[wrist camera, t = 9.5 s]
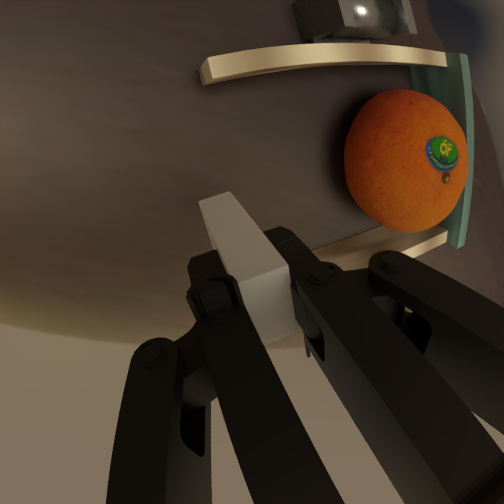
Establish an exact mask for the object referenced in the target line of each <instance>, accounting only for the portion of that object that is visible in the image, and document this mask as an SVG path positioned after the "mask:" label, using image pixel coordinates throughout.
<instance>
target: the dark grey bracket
mask: <svg viewBox="0 0 504 504" xmlns="http://www.w3.org/2000/svg"><path fill="white" fill-rule="evenodd" d="M292 5H293V9H294V13H295V17H296V20H297V24H298V28H299V32H300V36H301V41H302V42H305V41H308V43H309V44H318V43H363V44H370V41H373V40H378V39H387V38H391V37H398V36H406V35H414V34H417V30H416V25H415V21H414V17H413V13H412V10H411V6H410V2H409V0H297V1H296V2H294V3H293V4H292Z"/></svg>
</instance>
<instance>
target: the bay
mask: <svg viewBox="0 0 504 504" xmlns="http://www.w3.org/2000/svg"><path fill="white" fill-rule="evenodd" d="M345 65H396V66H409V68H410V75H411V82H412V89H413V90H414V91H417V92H420V93H423V94H426V95H428V96H430V97H432V98H434V99H435V100H437V101H439V102H440V103H441V104H443V105H444V106H445V107H446V108H447V109H448V111H449V112H450V113H451V114H452V115H453V117H454V118H455V120H456V121H457V123H458V124H459V125H460V127H461V129H462V131H463V133H464V135H465V139H466V144H467V149H468V164H469V167H468V176H467V181H466V184H465V186H464V188H463V191H462V193H461V196H460V197H459V200H458V202H457V204H456V206H455V207H454V209H453V210H452V212H451V213H450V214H449V215H448V216H447V217H446V218H445V219H443V220H442V221H441V222H439V223H438V224H437V225H435V226H433V227H431V228H429V229H426V230H423V231H420V232H412V233H404V232H397V231H393V230H390V229H388V228H386V227H384V226H379V227H376V228H374V229H371V230H368V231H366V232H363V233H360V234H357V235H355V236H352V237H349V238H346V239H344V240H341V241H338V242H335V243H332V244H330V245H327V246H324V247H321V248H318V249H316V250H313V251H312V252H313V253H314V254H315V255H316V257H317V258H318V259H319V260H320V261H327V262H331V263H334V264H336V265H337V266H339V267H340V268H341V269H342V270H343V271H347V270H356V269H362V268H368V264H369V259H370V258H371V256H372V255H373V254H375V253H377V252H379V251H384V250H394V251H398V252H401V253H404V254H406V255H408V256H410V257H412V258H414V257H416V256H419V255H421V254H423V253H425V252H427V251H429V250H431V249H433V248H435V247H437V246H439V245H441V244H443V243H445V242H447V243H449V244H451V245H452V246H454V247H455V248H457V249H458V248H460V247H461V246H463V245H464V243H465V238H466V232H467V225H468V218H469V211H470V202H471V192H472V180H473V162H474V117H473V100H472V88H471V79H470V71H469V64H468V57H467V55H465V54H461V53H444V52H438V51H432V50H426V49H419V48H412V47H403V46H394V45H381V44H363V43H318V44H299V45H287V46H277V47H268V48H260V49H253V50H246V51H240V52H234V53H229V54H223V55H218V56H213V57H209V58H207V59H206V60H205V62H204V63H203V64H202V66H201V67H200V68H199V70H198V71H199V75H200V79H201V83H202V86H206V85H210V84H214V83H218V82H223V81H227V80H232V79H237V78H242V77H247V76H253V75H259V74H265V73H271V72H278V71H286V70H294V69H303V68H314V67H326V66H345Z"/></svg>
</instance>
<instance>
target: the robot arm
mask: <svg viewBox="0 0 504 504" xmlns="http://www.w3.org/2000/svg"><path fill="white" fill-rule="evenodd" d="M198 203H199V206H200V209H201V212H202V215H203V219H204V222H205V225H206V228H207V231H208V234H209V237H210V241H211V244H212V247H213V250H212V251H209V252H207V253H204V254H201V255H198V256H195V257H192V258H191V259H190V262H189V264H188V267H187V268H188V273H189V276H190V281H191V286H190V288H189V289H188V291H187V296H186V299H187V301H188V304H189V306H190V308H191V310H192V312H193V314H194V316H195V318H196V323H195V324H194V326H193V327H192V328H191V330H190V331H189V332H187V333H186V334H185V335H184V336H182V337H180V338H179V339H177V340H176V341H174V342H173V341H172V340H169V339H167V338H158V337H157V338H154V339H150V340H148V341H146V342H145V343H143V344H141V345H140V346H139V347H138V348H137V350H136V351H135V352H134V354H133V356H132V358H131V362H130V366H129V371H128V375H127V379H126V383H125V388H124V392H123V398H122V402H121V407H120V412H119V417H118V423H117V428H116V433H115V439H114V446H113V451H112V458H111V466H110V472H109V481H108V489H107V498H106V504H212V487H211V401H212V400H214V399H215V398H217V397H218V401H219V404H220V407H221V410H222V414H223V417H224V420H225V423H226V426H227V430H228V432H229V436H230V439H231V442H232V445H233V448H234V451H235V453H236V456H237V459H238V462H239V465H240V468H241V471H242V473H243V476H244V479H245V481H246V484H247V487H248V489H249V492H250V495H251V497H252V500H253V502H254V504H345V503H344V501H343V500H342V498H341V496H340V494H339V492H338V490H337V489H336V487H335V485H334V483H333V481H332V479H331V477H330V476H329V474H328V472H327V470H326V468H325V466H324V464H323V463H322V461H321V459H320V457H319V455H318V453H317V451H316V449H315V447H314V445H313V443H312V441H311V439H310V438H309V436H308V434H307V432H306V430H305V428H304V426H303V424H302V422H301V420H300V418H299V416H298V414H297V412H296V410H295V408H294V406H293V404H292V403H291V400H290V398H289V396H288V394H287V392H286V390H285V388H284V386H283V384H282V382H281V380H280V378H279V376H278V374H277V372H276V370H275V368H274V366H273V364H272V362H271V359H270V357H269V355H268V353H267V351H266V349H265V347H264V346H265V345H268V344H270V343H273V342H275V341H278V340H280V339H283V338H285V337H288V336H290V335H292V334H295V333H297V332H299V331H298V324H299V325H300V327H301V328H302V330H303V333H304V341H305V349H306V354H307V357H310V356H311V355H310V351H311V353H312V355H313V356H314V357H315V359H316V361H317V363H318V364H319V366H320V368H321V369H322V371H323V372H324V374H325V376H326V377H327V379H328V381H329V382H330V384H331V385H332V387H333V389H334V390H335V392H336V393H337V395H338V397H339V398H340V400H341V401H342V403H343V405H344V406H345V408H346V410H347V411H348V413H349V415H350V416H351V418H352V419H353V421H354V423H355V424H356V426H357V427H358V429H359V430H360V432H361V434H362V436H363V437H364V439H365V440H366V442H367V443H368V445H369V447H370V448H371V450H372V452H373V453H374V455H375V457H376V458H377V460H378V461H379V463H380V465H381V466H382V468H383V469H384V471H385V473H386V474H387V476H388V477H389V479H390V481H391V482H392V484H393V486H394V487H395V489H396V490H397V492H398V494H399V495H400V496H401V498H402V500H403V502H404V503H405V504H504V453H503V452H502V451H501V449H500V448H499V447H498V445H497V444H496V443H495V441H494V440H493V439H492V437H491V436H490V435H489V433H488V432H487V431H486V430H485V428H484V427H483V426H482V424H481V423H480V422H479V421H478V420H477V418H476V417H475V416H474V414H473V413H472V412H474V413H475V414H476V415H478V416H479V417H480V418H482V419H483V420H484V421H486V422H487V423H488V424H490V425H491V426H493V427H494V428H495V429H496V430H498V431H499V432H501V433H502V434H503V435H504V308H503V307H501V306H500V305H498V304H496V303H495V302H493V301H491V300H490V299H488V298H486V297H484V296H483V295H481V294H479V293H477V292H476V291H474V290H472V289H470V288H468V287H467V286H465V285H463V284H461V283H459V282H458V281H456V280H454V279H452V278H450V277H448V276H447V275H445V274H443V273H441V272H439V271H437V270H435V269H433V268H431V267H429V266H428V265H426V264H424V263H422V262H420V261H418V260H416V259H414V258H412V257H410V256H408V255H406V254H404V253H401V252H398V251H394V250H384V251H379V252H377V253H375V254H373V255H372V256H371V258H370V259H369V264H368V268H362V269H356V270H347V271H343V270H342V269H341V268H340V267H339V266H337V265H336V264H334V263H331V262H327V261H320V260H319V259H318V258H317V257H316V255H315V254H314V253H313V252H312V251H311V250H310V249H309V248H308V247H307V246H306V245H305V244H304V243H302V241H301V240H300V239H299V238H297V236H296V235H295V234H294V233H293V232H292V231H291V230H289V229H286V228H284V227H281V226H279V227H276V228H273V229H270V230H267V231H264V232H262V231H261V230H260V228H259V227H258V226H257V225H256V223H255V222H254V221H253V220H252V218H251V217H250V216H249V215H248V213H247V212H246V211H245V210H244V208H243V207H242V206H241V205H240V203H239V202H238V201H237V200H236V198H235V197H234V196H233V195H232V193H231V192H230V191H228V192H225V193H222V194H219V195H216V196H213V197H210V198H207V199H204V200H201V201H198ZM405 307H407V308H409V309H410V310H412V311H413V313H409V312H407V311H405ZM297 322H298V324H297ZM470 410H471V411H472V412H471V411H470Z"/></svg>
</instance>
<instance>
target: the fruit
mask: <svg viewBox="0 0 504 504" xmlns="http://www.w3.org/2000/svg"><path fill="white" fill-rule="evenodd" d="M344 166H345V177H346V182H347V185H348V188H349V191H350V193H351V195H352V197H353V199H354V200H355V202H356V203H357V204H358V206H359V207H360V208H361V209H362V210H363V211H364V212H365V213H366V214H367V215H368V216H369V217H370V218H372V219H373V220H375V221H376V222H378V223H379V224H381V225H382V226H384V227H386V228H388V229H390V230H393V231H397V232H404V233H412V232H420V231H423V230H426V229H429V228H431V227H433V226H435V225H437V224H438V223H439V222H441V221H442V220H443V219H445V218H446V217H447V216H448V215H449V214H450V213H451V212H452V210H453V209H454V207H455V206H456V204H457V202H458V200H459V197H460V196H461V193H462V191H463V188H464V186H465V184H466V181H467V176H468V167H469V164H468V149H467V144H466V139H465V135H464V133H463V131H462V129H461V127H460V125H459V124H458V123H457V121H456V120H455V118H454V117H453V115H452V114H451V113H450V112H449V111H448V109H447V108H446V107H445V106H444V105H443V104H441V103H440V102H439V101H437V100H435V99H434V98H432V97H430V96H428V95H426V94H423V93H420V92H417V91H414V90H408V89H392V90H386V91H383V92H380V93H378V94H377V95H375V96H374V97H372V98H371V99H369V100H368V101H367V102H366V103H365V104H364V106H363V107H362V108H361V109H360V111H359V112H358V114H357V116H356V117H355V119H354V121H353V123H352V125H351V128H350V130H349V132H348V135H347V138H346V142H345V150H344Z"/></svg>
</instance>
